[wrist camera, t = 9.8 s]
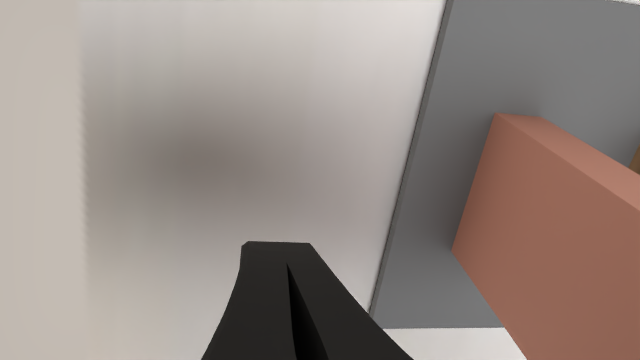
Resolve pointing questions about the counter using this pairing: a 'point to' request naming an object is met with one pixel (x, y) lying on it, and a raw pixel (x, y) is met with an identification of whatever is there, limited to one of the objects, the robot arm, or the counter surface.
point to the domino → (554, 242)
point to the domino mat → (474, 124)
